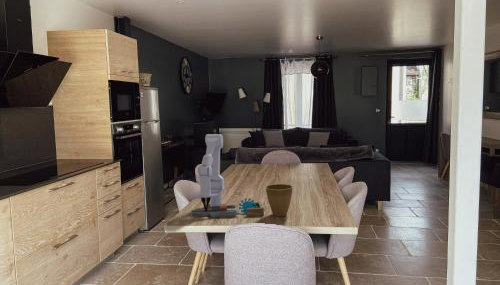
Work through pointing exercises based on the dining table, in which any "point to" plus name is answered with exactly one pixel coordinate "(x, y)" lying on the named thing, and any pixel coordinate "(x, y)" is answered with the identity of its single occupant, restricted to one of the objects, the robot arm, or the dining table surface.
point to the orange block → (224, 208)
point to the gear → (247, 205)
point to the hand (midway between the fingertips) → (206, 210)
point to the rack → (256, 210)
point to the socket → (215, 214)
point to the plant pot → (279, 198)
